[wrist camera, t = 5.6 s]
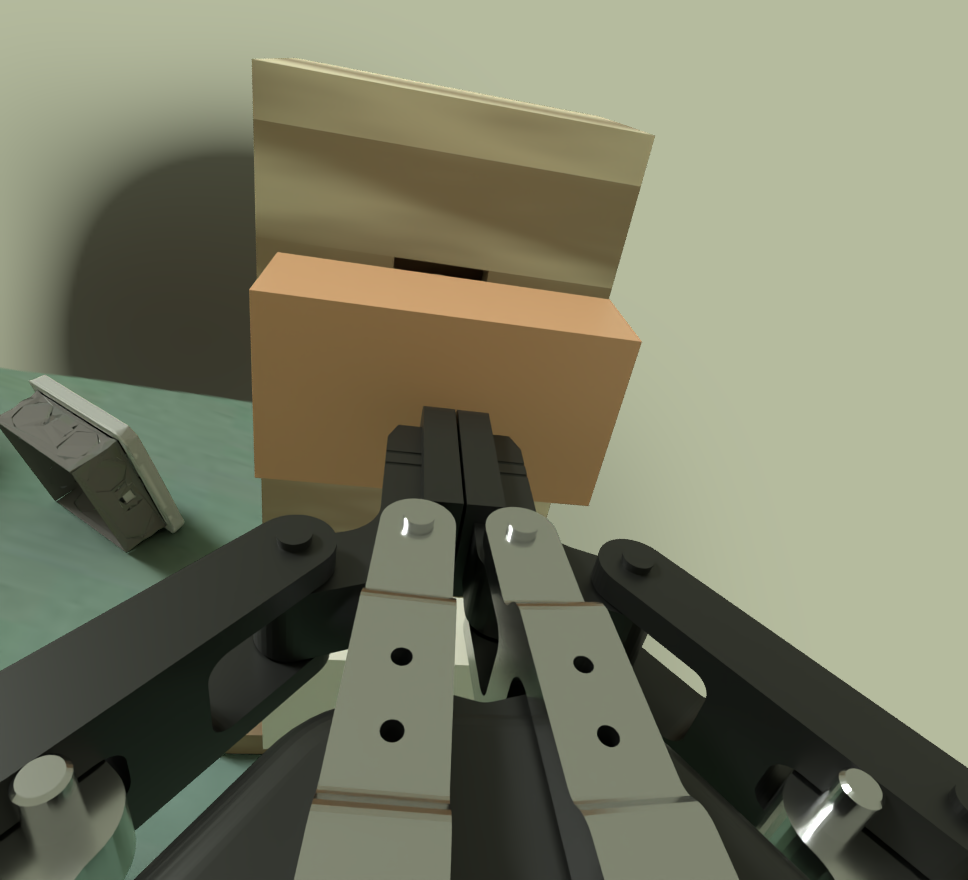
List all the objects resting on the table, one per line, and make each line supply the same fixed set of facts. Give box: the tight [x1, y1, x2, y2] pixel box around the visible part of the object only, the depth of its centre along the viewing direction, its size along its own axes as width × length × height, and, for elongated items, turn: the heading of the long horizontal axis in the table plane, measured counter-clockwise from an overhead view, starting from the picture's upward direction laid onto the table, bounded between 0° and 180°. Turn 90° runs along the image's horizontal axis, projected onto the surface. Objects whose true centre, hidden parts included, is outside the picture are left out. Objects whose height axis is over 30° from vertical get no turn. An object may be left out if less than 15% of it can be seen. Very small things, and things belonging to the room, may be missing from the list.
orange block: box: [249, 252, 642, 506], centre depth 19 cm, size 8×9×5 cm
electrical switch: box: [0, 375, 184, 553], centre depth 38 cm, size 9×5×9 cm, turn 59°
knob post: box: [225, 58, 655, 754], centre depth 28 cm, size 13×16×28 cm
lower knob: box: [262, 597, 474, 749], centre depth 25 cm, size 8×9×5 cm
